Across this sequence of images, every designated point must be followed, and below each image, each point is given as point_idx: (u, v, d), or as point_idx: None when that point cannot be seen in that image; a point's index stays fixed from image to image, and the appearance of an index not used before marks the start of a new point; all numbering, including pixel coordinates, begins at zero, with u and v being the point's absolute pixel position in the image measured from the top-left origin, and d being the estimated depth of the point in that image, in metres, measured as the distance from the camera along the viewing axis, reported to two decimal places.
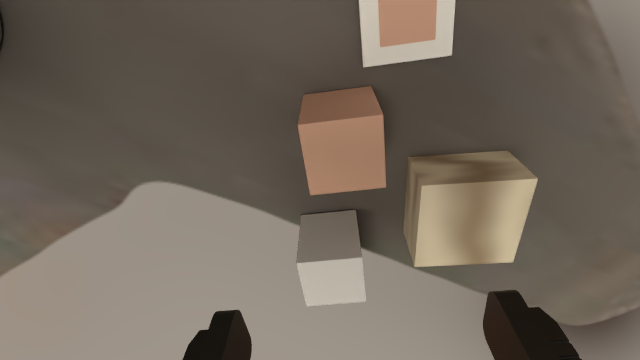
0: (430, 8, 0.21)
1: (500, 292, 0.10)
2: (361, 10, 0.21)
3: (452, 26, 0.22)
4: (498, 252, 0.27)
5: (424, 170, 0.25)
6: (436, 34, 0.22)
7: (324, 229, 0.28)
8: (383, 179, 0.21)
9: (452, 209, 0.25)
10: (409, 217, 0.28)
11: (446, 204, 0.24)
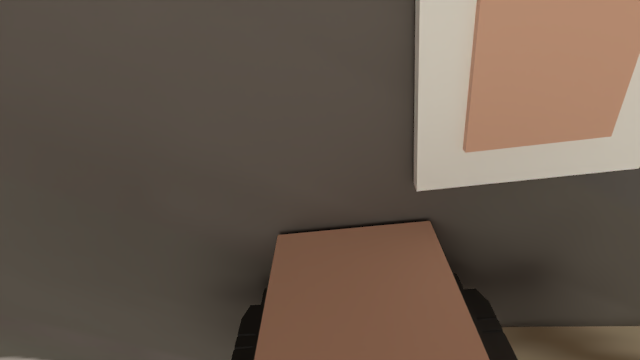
0: (618, 61, 0.07)
1: None
2: (423, 65, 0.08)
3: None
4: None
5: None
6: (615, 123, 0.08)
7: None
8: None
9: None
10: None
11: None
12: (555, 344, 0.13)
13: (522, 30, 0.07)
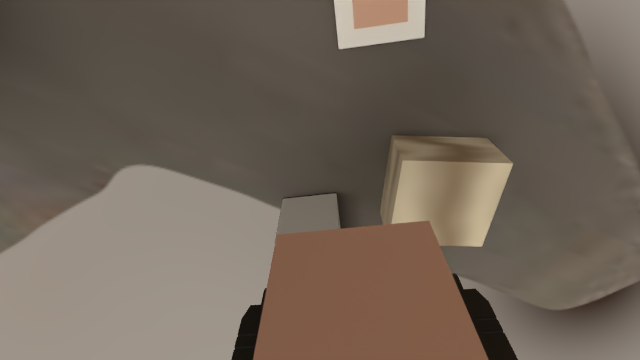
0: None
1: None
2: None
3: (424, 8, 0.22)
4: (469, 235, 0.27)
5: (406, 147, 0.26)
6: (408, 16, 0.22)
7: (305, 212, 0.29)
8: None
9: (429, 187, 0.25)
10: (387, 195, 0.29)
11: (424, 182, 0.25)
12: (418, 139, 0.27)
13: None
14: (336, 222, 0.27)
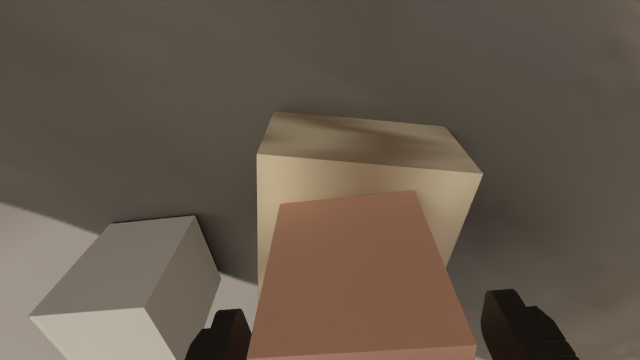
0: None
1: (498, 291, 0.10)
2: None
3: None
4: None
5: (284, 131, 0.13)
6: None
7: (124, 250, 0.16)
8: None
9: None
10: None
11: None
12: (317, 120, 0.15)
13: None
14: (159, 274, 0.15)
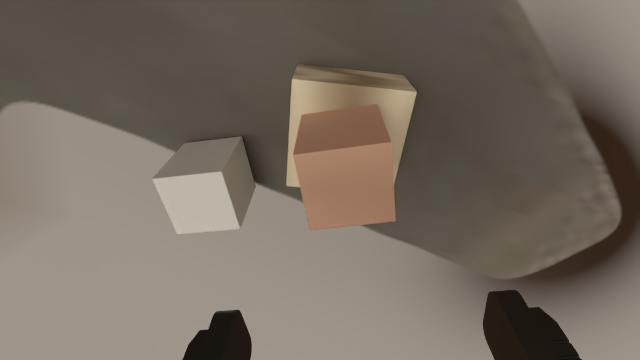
0: None
1: (500, 292, 0.10)
2: None
3: None
4: None
5: (305, 72, 0.23)
6: None
7: (199, 152, 0.26)
8: (391, 212, 0.19)
9: None
10: None
11: (320, 109, 0.22)
12: (324, 69, 0.24)
13: None
14: (226, 159, 0.24)
